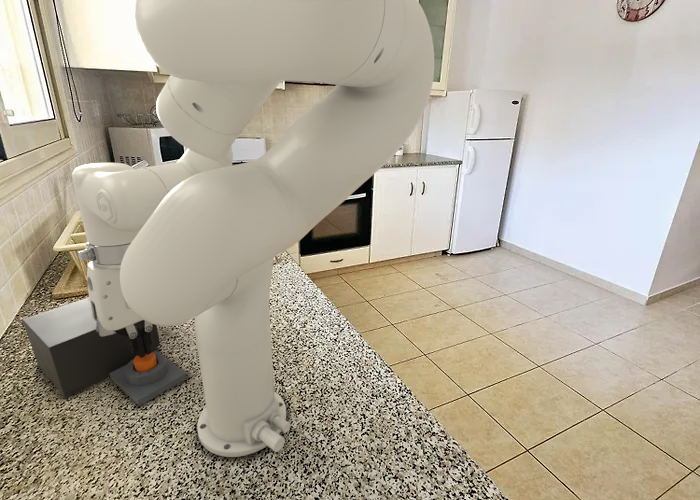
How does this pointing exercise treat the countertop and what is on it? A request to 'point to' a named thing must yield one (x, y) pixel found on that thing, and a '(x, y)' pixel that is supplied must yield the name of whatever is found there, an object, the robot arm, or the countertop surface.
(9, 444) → the countertop surface
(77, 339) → the matte grey oblong box
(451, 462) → the countertop surface
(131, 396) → the control pad
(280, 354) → the countertop surface
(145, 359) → the button
